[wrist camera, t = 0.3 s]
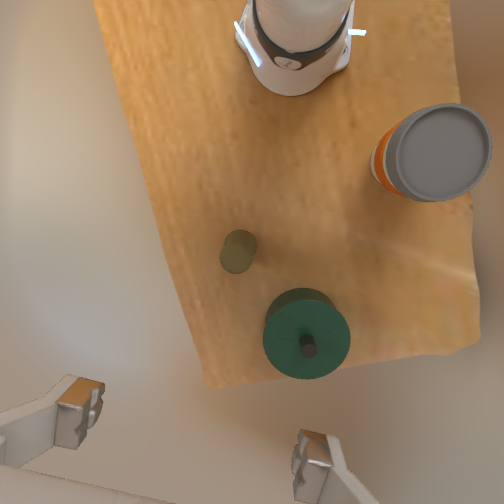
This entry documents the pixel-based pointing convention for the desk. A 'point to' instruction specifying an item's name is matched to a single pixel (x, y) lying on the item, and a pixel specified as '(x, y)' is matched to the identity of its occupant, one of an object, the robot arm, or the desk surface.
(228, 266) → the cork
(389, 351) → the desk surface
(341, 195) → the desk surface
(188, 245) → the desk surface
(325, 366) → the lid
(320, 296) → the tin
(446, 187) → the reusable coffee cup
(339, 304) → the desk surface
